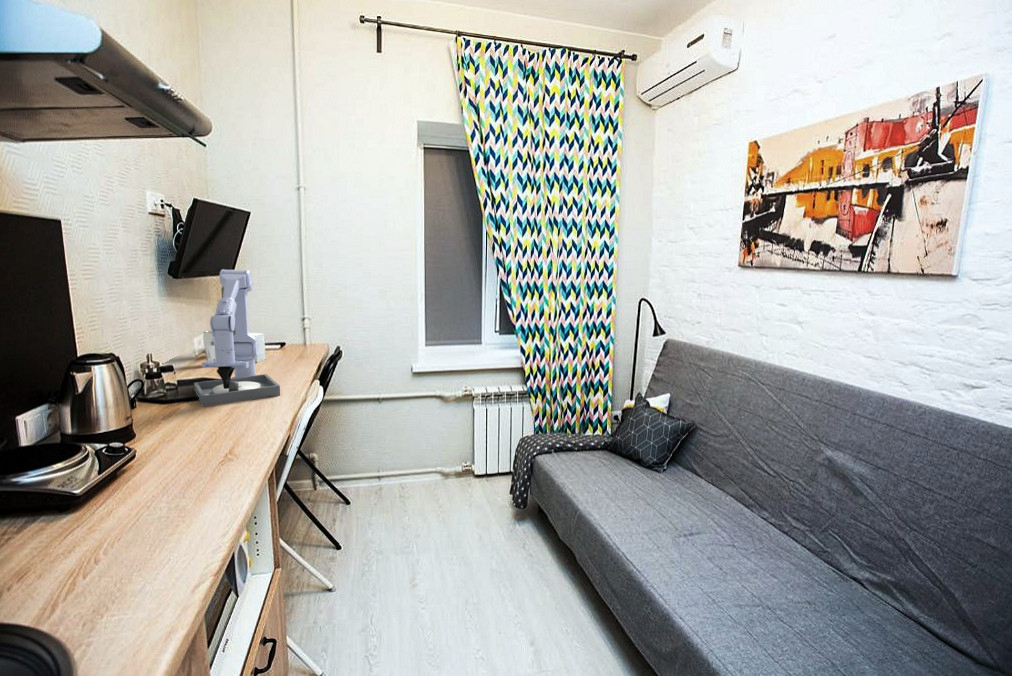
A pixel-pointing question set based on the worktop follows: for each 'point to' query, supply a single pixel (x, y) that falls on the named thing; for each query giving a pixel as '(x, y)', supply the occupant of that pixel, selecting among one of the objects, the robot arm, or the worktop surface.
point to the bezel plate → (208, 398)
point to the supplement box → (261, 345)
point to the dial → (236, 386)
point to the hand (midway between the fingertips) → (227, 387)
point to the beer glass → (209, 345)
